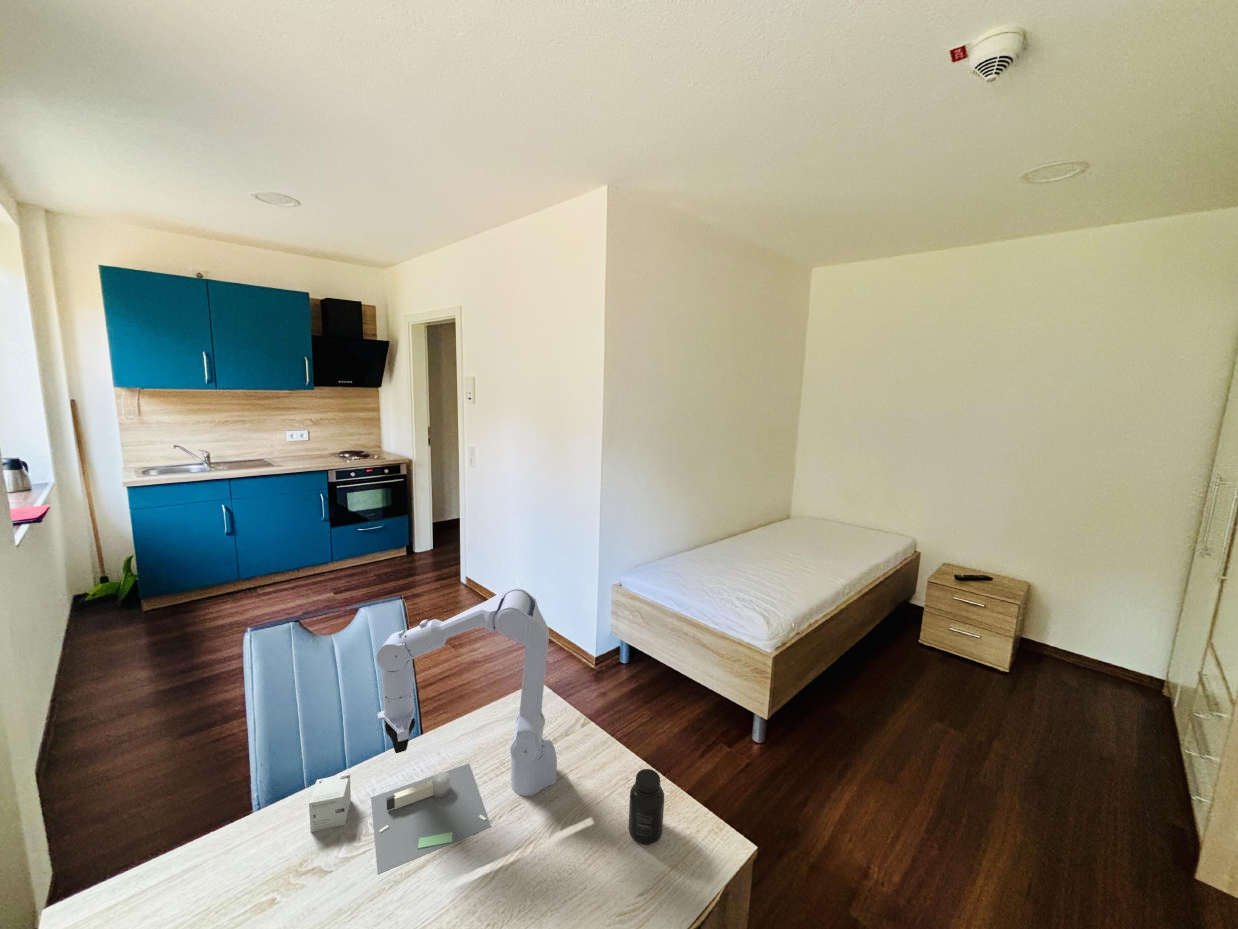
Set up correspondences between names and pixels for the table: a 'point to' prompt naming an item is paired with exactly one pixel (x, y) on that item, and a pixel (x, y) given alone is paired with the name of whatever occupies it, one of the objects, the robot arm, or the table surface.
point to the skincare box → (330, 802)
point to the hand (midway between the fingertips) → (400, 748)
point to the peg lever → (421, 791)
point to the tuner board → (427, 820)
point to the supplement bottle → (646, 808)
